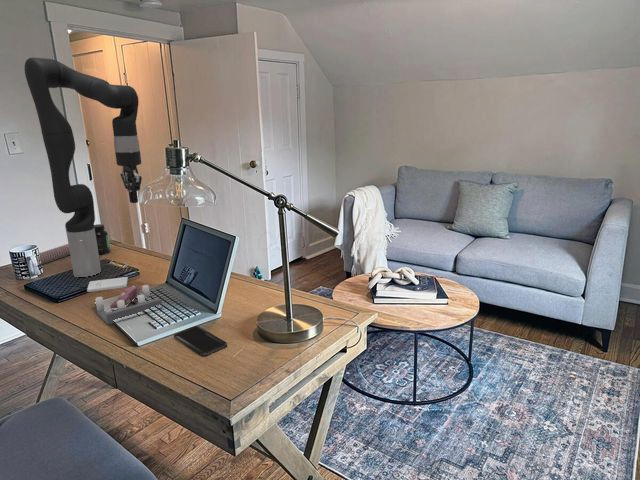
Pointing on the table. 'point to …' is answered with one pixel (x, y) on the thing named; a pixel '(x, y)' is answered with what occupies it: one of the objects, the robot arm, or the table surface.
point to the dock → (128, 310)
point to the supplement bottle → (102, 239)
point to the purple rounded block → (127, 296)
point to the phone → (200, 341)
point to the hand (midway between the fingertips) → (134, 202)
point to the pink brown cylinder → (54, 254)
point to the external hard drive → (107, 284)
